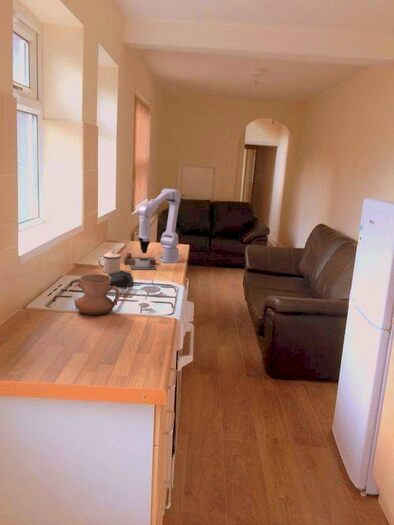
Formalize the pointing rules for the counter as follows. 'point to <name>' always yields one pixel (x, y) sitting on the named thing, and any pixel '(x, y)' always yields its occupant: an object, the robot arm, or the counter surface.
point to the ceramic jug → (95, 294)
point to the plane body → (131, 260)
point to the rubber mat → (152, 267)
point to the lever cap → (142, 263)
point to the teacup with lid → (111, 262)
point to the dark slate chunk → (121, 279)
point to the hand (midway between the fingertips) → (143, 251)
